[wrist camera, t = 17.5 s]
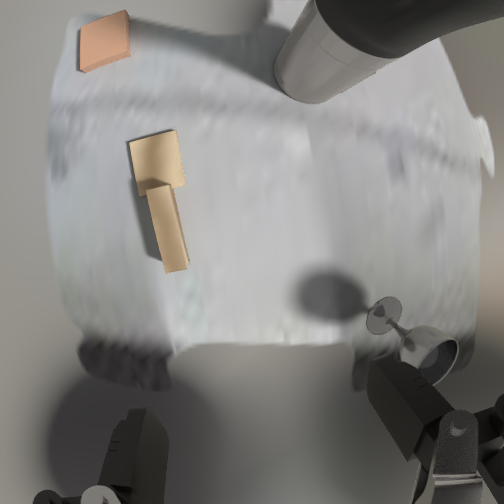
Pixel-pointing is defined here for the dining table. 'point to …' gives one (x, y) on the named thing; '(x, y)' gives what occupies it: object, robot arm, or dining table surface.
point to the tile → (104, 41)
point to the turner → (162, 193)
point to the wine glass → (415, 341)
